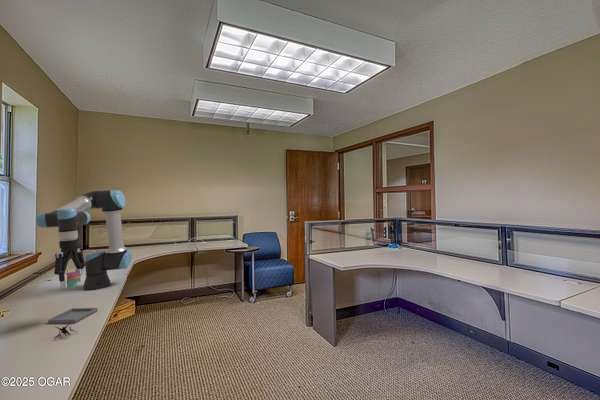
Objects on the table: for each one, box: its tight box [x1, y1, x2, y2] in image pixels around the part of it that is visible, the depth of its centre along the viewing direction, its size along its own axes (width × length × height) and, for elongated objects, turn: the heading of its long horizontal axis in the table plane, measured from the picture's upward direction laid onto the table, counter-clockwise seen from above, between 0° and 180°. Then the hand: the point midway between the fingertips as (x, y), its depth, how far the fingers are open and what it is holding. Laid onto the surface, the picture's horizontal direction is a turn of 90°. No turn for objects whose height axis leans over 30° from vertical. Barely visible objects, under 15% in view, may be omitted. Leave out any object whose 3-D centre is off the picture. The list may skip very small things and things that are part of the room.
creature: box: [54, 322, 78, 342], centre depth 127 cm, size 8×5×8 cm
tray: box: [47, 307, 99, 324], centre depth 147 cm, size 14×14×2 cm
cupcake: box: [65, 266, 81, 288], centre depth 147 cm, size 9×8×12 cm
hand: (71, 284), depth 147 cm, fingers closed on cupcake, 8 cm apart
